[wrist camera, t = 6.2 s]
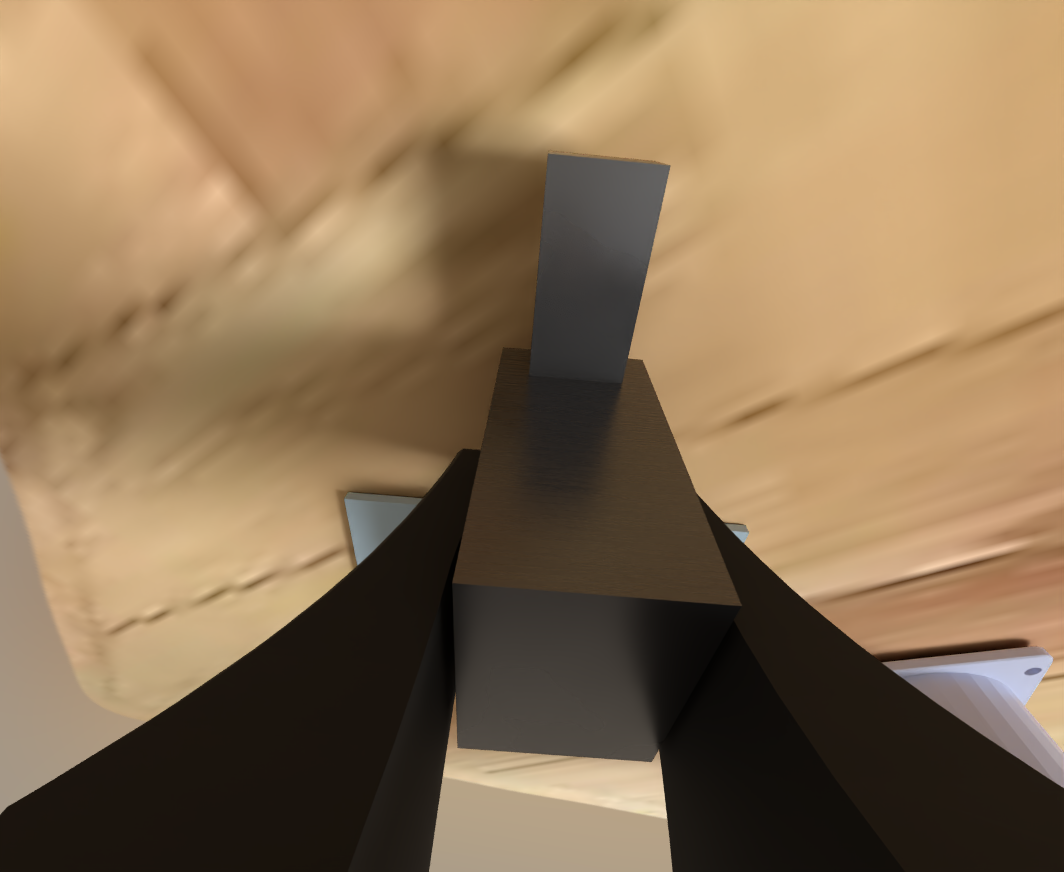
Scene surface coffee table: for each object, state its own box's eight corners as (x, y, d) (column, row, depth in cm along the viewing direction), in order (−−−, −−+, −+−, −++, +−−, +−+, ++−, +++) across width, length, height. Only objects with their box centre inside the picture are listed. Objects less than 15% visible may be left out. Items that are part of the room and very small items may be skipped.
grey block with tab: (393, 135, 7) (75, 142, 2) (806, 175, 8) (1295, 261, 3) (433, 648, 16) (383, 875, 11) (623, 662, 16) (655, 893, 11)
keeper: (348, 492, 13) (277, 613, 10) (745, 525, 13) (812, 655, 10) (374, 631, 17) (330, 753, 14) (683, 654, 17) (716, 781, 14)
